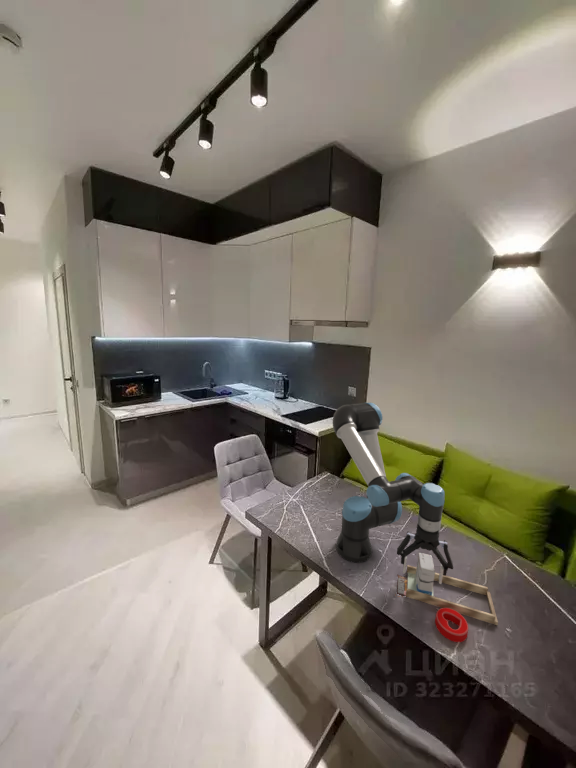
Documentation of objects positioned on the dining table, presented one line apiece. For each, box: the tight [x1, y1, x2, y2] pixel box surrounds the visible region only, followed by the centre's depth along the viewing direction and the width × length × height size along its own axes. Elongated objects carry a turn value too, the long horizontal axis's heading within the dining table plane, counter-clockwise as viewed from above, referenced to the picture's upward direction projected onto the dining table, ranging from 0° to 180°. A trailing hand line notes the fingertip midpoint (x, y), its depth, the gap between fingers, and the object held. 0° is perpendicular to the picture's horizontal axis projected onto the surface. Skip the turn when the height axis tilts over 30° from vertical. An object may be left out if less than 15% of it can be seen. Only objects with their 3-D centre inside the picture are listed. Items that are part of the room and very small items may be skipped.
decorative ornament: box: [434, 607, 469, 643], centre depth 105 cm, size 10×10×3 cm
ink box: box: [415, 552, 436, 596], centre depth 119 cm, size 8×5×12 cm, turn 165°
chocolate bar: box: [396, 574, 408, 597], centre depth 121 cm, size 11×5×1 cm, turn 159°
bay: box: [405, 564, 499, 626], centre depth 117 cm, size 29×13×3 cm, turn 69°
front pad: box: [407, 572, 435, 597], centre depth 121 cm, size 9×11×1 cm
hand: (421, 575), depth 119 cm, fingers open, 12 cm apart
